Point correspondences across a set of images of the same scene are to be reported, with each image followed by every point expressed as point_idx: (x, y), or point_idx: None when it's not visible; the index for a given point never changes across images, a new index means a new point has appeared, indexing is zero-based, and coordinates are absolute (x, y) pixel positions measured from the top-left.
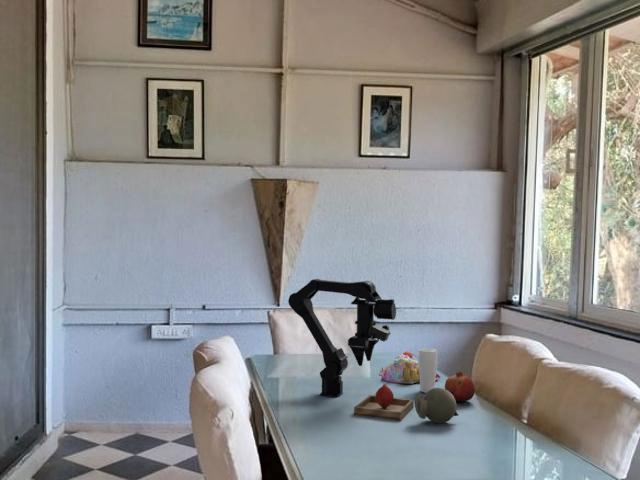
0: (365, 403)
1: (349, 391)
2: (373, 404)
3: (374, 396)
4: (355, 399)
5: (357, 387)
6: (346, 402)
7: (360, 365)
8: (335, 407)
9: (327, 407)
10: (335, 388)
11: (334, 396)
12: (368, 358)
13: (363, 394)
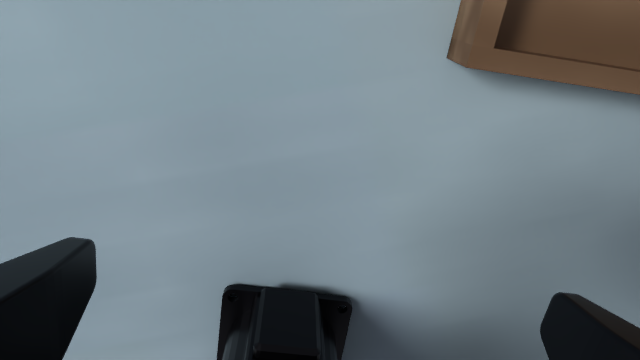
0: (630, 69)
1: (157, 253)
2: (584, 5)
3: (501, 14)
4: (371, 175)
5: (9, 223)
6: (465, 217)
7: (568, 312)
8: (596, 256)
9: (598, 296)
10: (324, 346)
11: (349, 312)
12: (74, 288)
13: (205, 144)
